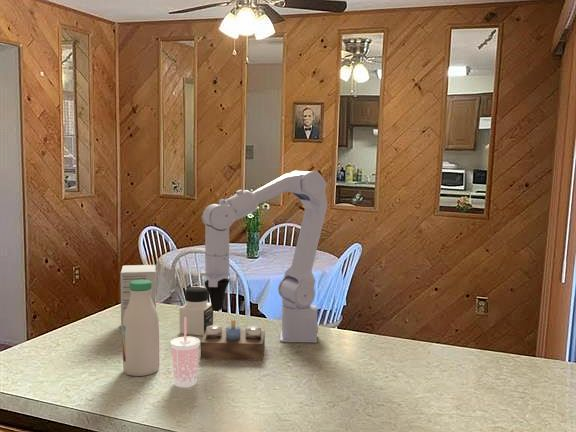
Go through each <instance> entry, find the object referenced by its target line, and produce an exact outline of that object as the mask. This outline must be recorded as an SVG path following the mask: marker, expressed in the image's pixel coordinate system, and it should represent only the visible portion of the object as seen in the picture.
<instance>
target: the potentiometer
mask: <svg viewBox="0 0 576 432" xmlns="http://www.w3.org/2000/svg"><path fill="white" fill-rule="evenodd" d="M236 321H237V320H236V319H231V321H230V324H231V325H230V326H227V327H226V328H225V331H226V339H227V340H239V339H240V331H241V327H240V326H237V325H236V323H237V322H236Z"/></svg>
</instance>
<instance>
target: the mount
mask: <svg viewBox="0 0 576 432" xmlns="http://www.w3.org/2000/svg"><path fill="white" fill-rule="evenodd" d="M265 335H266V332H265V331H263V330H261V338H259V339H258V340H253V339H248V338H246V337H245V336H246V330H240V339H239V340H227V339H226V329H225V330H223V329H222V337H219V339H210V338H208V337H206V333H205V335H203V337H202V339H201V340H200V359H201V360H235V361H236V360H237V361H239V360H240V361H241V360H242V361H263V359H264V353H265V345H266V343H265V341H266V340H265V339H266V337H265Z"/></svg>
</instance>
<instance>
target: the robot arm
mask: <svg viewBox="0 0 576 432" xmlns="http://www.w3.org/2000/svg"><path fill="white" fill-rule="evenodd" d="M326 189H327V182H326V180H325V178H324V177H323V175H322V174H320V172H318V171H316V170H312V171H308V170H307V171H306V170H305V171H304V170H297V169H295V170H293V171H291V172H287V173H284V174H283V175H281V176H280V177H277V178H276V179H273V180H272V181H270V182H268V183H266V184H265V185H263V186H260V187H259V188H257V189H255V190H254V191H250V190H249V189H244V190H243V189H238V190H237V191H235V193H236V194H233V195H232V196H230V197H228V198H220V199H219V201H218V202H219V203H218V204H217V203H212V204H209V205H206V207H205V209H204V210H203V211H202V212H203V213H202V215H201V217H200V218H201V221H202V223H203V224H204V225H205V230H204V231H205V233H204V234H205V236H204V238H205V240H204V242H205V243H204V244H205V245H204V247H205V248H204V249H205V251H204V254H205V255H204V256H205V257H204V259H205V260H204V261H205V262H204V263H205V265H204V266H205V267H204V268H205V269H204V270H202V271H200V272H199V274H200V276H204V277H205V278H206V280H205V281H204V287H205V288H207V290H208V297H209V299H210V303H211V305H212V309H213V311H222V309H223V305H224V301H225V296H226V291H227V288H228V285H229V284H230V280H231V279H230V278H229V277H230V276H231V271H230V227H232V225H233V223H235V222H236V221H238V220H240V219H242V218H244V217H247V216H248V215H250V214H252V213H254V212H256V211H257V208H258V206H259V204H261V203H263V202H266V201H268V200H271V199H272V198H275V197H277V196H279V195H281V194H284V193H291V194H293V195H294V197H296V198H298V199H299V201H300V202H301V204H302V206H303V207H304V213H303V217H302V221H301V224H300V225H301V226H300V229H299V234H298V238H297V243H296V246H295V249H294V254H293V259H292V263H291V265H290V267H289V268H287V269H286V270H285V272H284V274H283V275H284V276H283V277H282V279H281V281H280V282H279V284H278V288H277V291H278V294H279V296H280V297H281V298H282V300H281V301H282V305H281V306H282V309H281V310H282V311H281V313H282V314H281V316H282V317H281V330H280V337H279V342H281V343H282V342H283V343H317V341H318V338H317V337H318V334H319V326H318V306H317V305H316V304H312V303H313V302H314V300H315V297H316V289H315V285H316V279H315V277H314V273H313V272H312V271H313V267H314V263H315V258H316V254H317V250H318V248H319V246H318V245H319V241H320V238H321V233H322V230H323V226H324V221H325V217H326V214H327V208H328V201H327V194H326Z"/></svg>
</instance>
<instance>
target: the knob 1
mask: <svg viewBox="0 0 576 432" xmlns="http://www.w3.org/2000/svg"><path fill="white" fill-rule="evenodd" d="M222 330H223V326H221V325H216V324H213V325H211V326H208V327H206V337H208V338H210V339H219V337H222Z"/></svg>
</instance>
